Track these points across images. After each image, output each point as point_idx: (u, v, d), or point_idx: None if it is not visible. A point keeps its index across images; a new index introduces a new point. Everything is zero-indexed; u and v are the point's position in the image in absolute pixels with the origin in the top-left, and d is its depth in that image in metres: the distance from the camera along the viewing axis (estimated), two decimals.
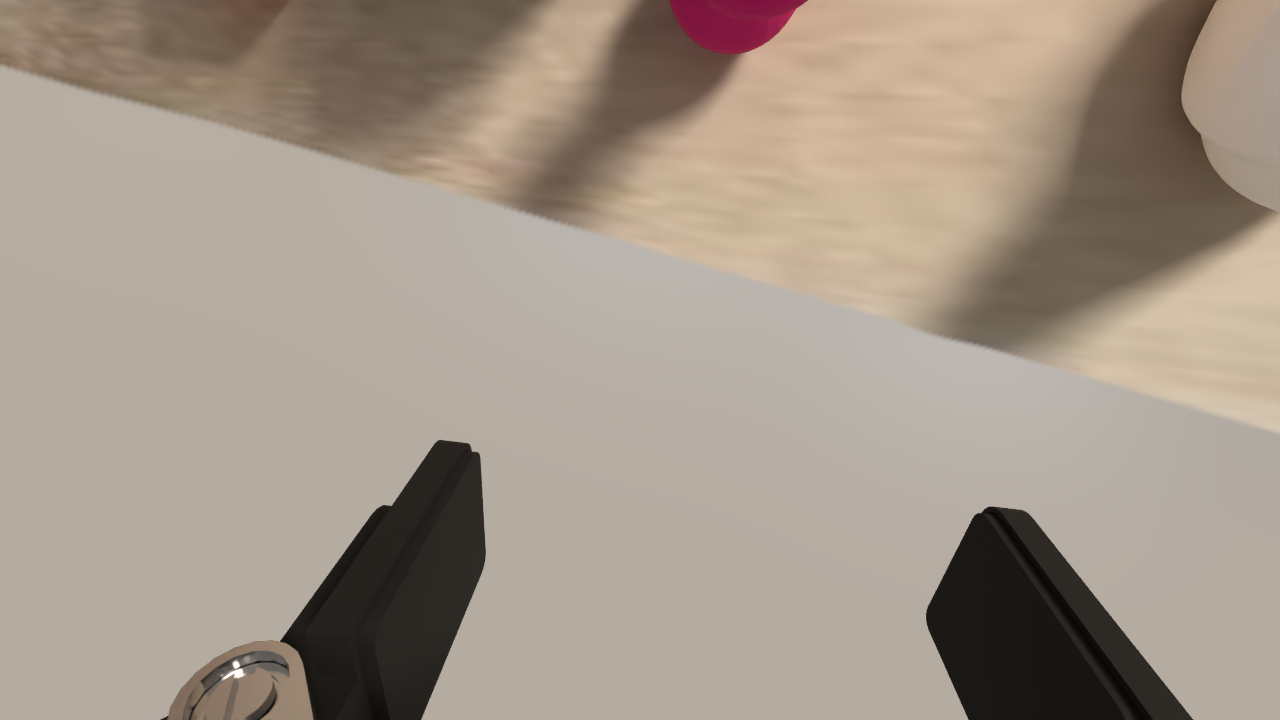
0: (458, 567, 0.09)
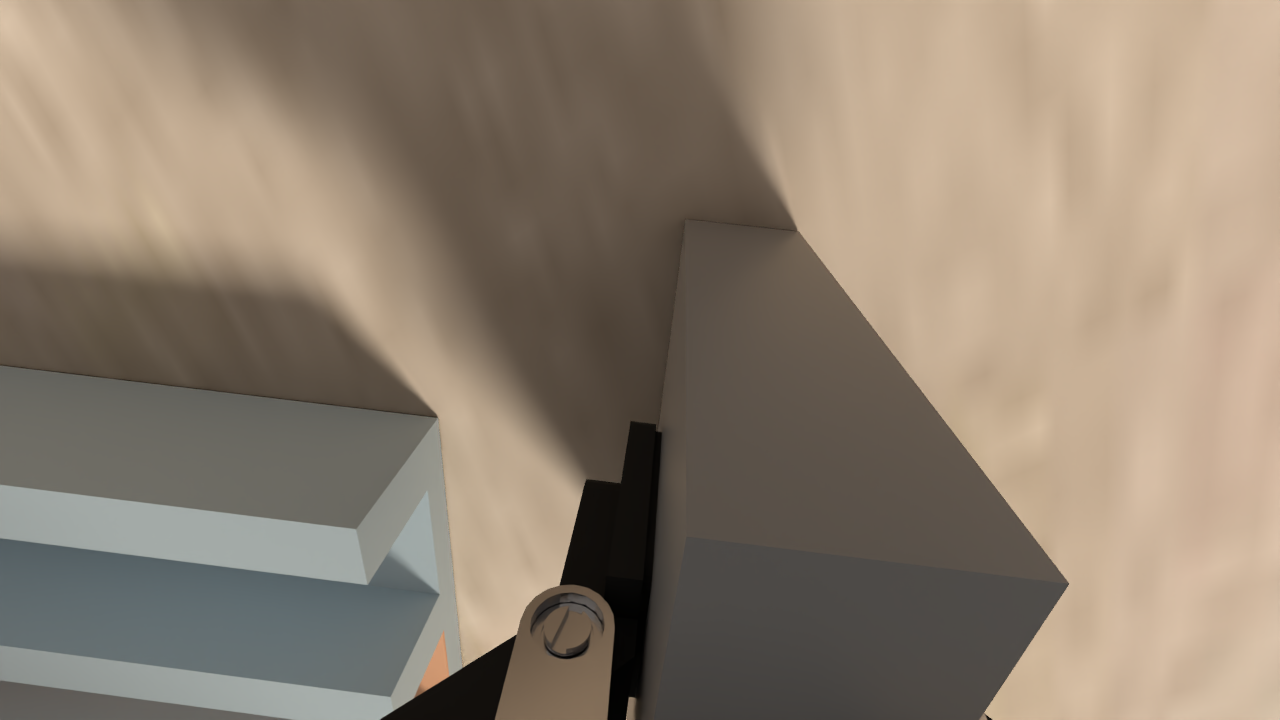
0: None
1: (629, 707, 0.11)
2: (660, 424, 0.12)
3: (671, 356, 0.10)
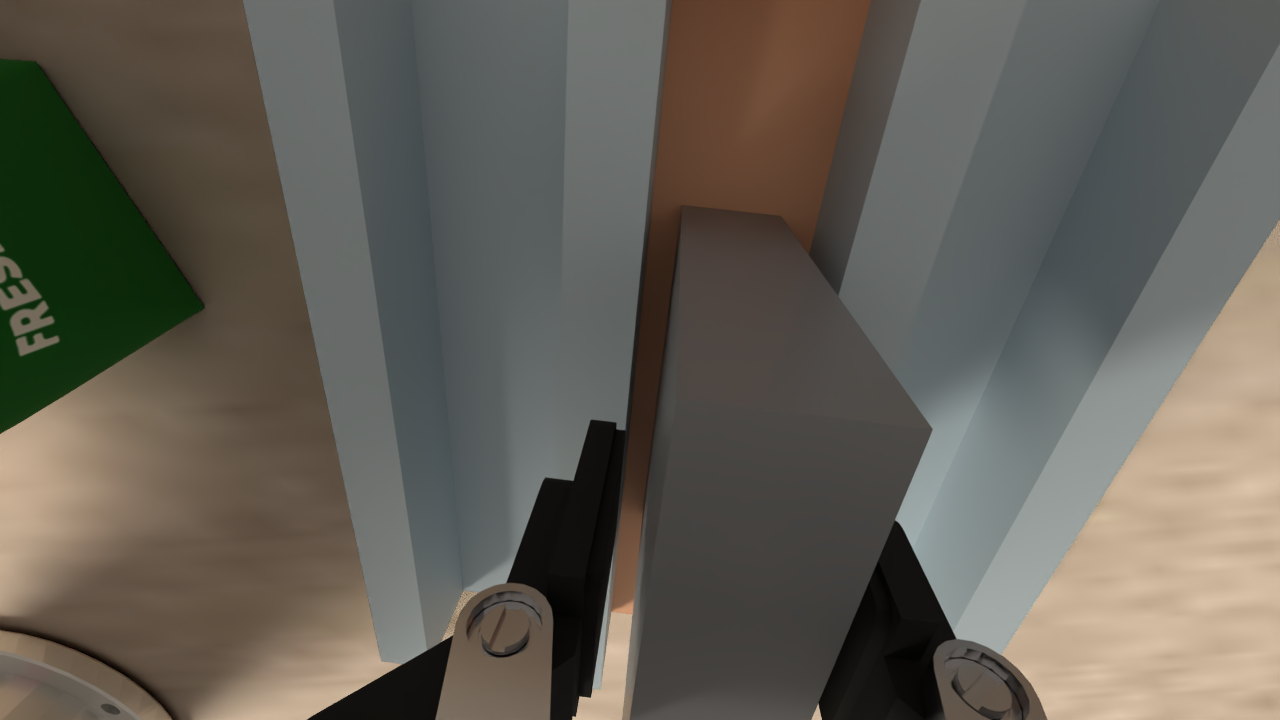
0: (613, 533, 0.10)
1: (632, 627, 0.12)
2: None
3: (669, 321, 0.12)
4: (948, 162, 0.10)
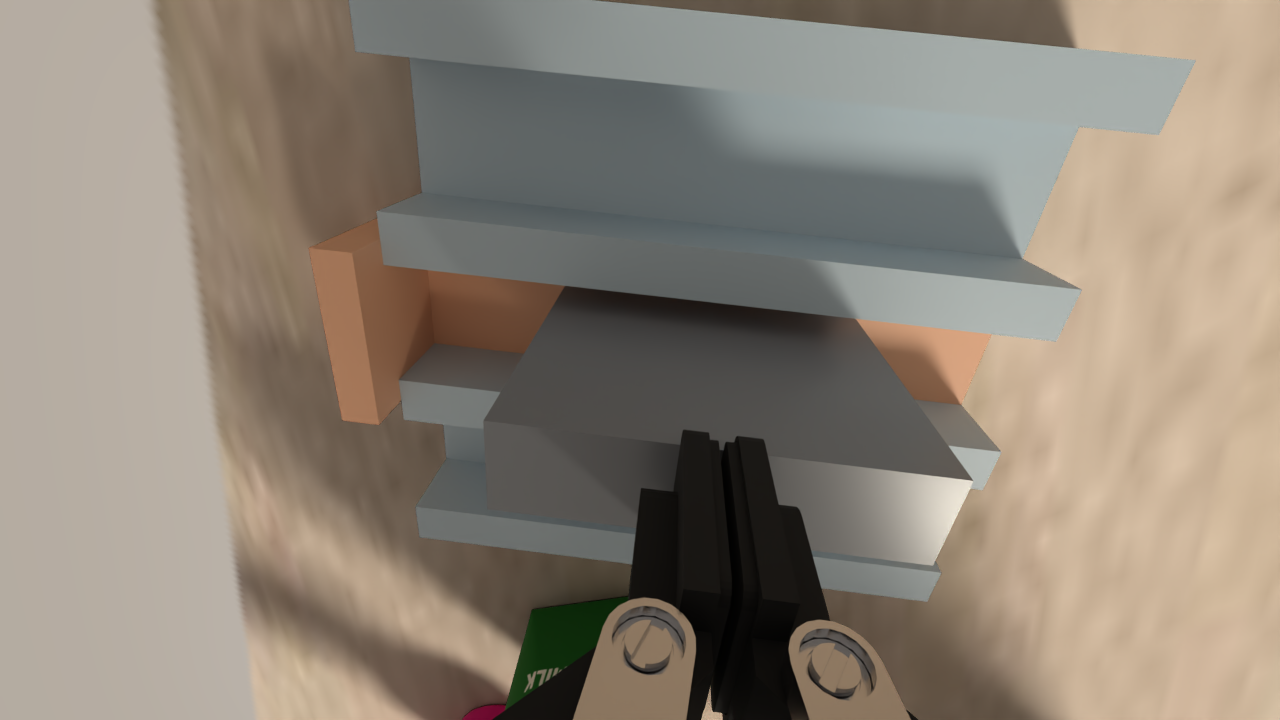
0: None
1: None
2: None
3: None
4: (489, 236, 0.16)
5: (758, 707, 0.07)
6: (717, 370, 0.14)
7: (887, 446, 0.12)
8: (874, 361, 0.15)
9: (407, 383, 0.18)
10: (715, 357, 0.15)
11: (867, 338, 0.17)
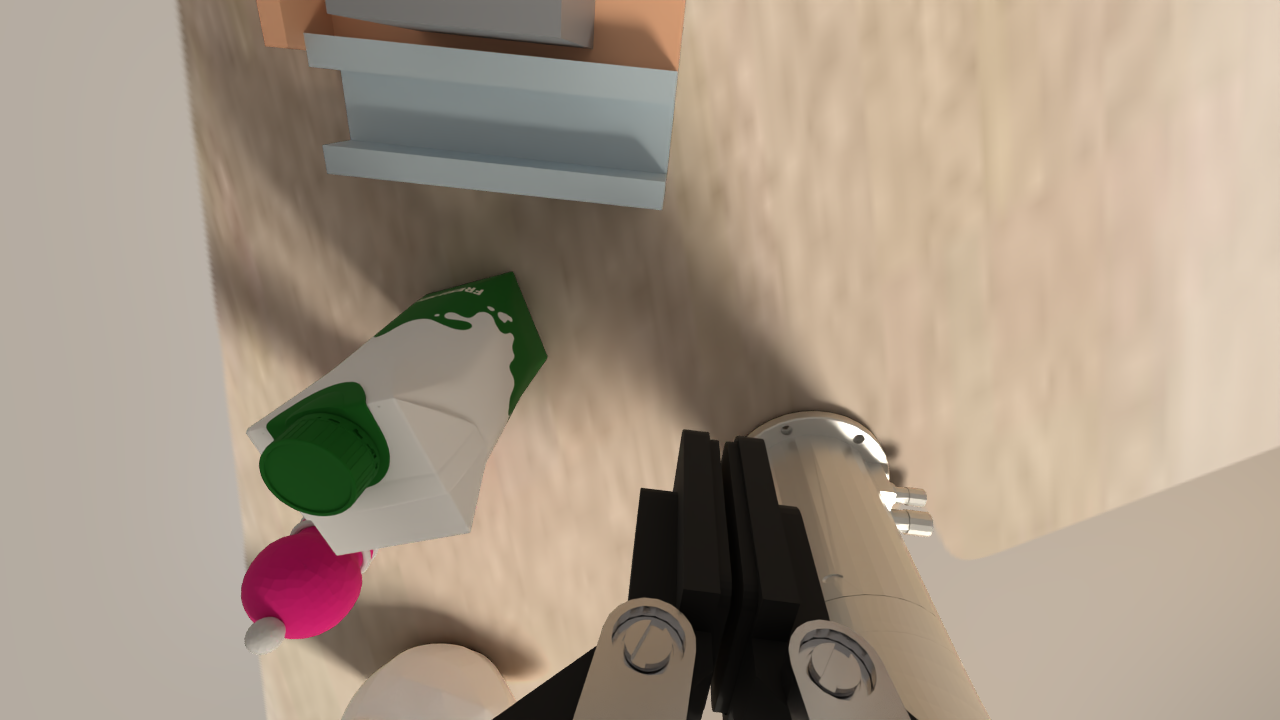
0: None
1: (548, 40, 0.26)
2: None
3: None
4: None
5: (758, 707, 0.07)
6: None
7: None
8: None
9: (309, 36, 0.29)
10: None
11: None
